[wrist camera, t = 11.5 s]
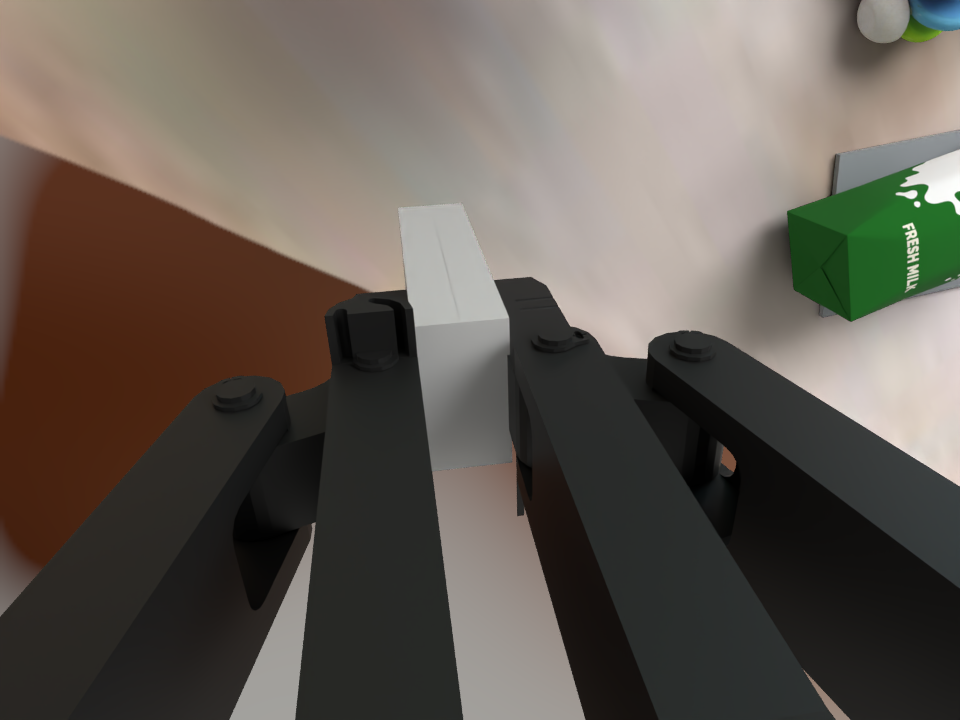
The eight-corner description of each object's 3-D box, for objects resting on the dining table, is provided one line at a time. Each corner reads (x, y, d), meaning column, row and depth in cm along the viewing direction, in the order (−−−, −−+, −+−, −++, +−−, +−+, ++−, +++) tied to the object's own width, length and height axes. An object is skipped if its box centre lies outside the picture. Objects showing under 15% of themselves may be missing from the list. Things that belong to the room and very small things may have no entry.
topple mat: (819, 315, 61) (822, 317, 61) (836, 153, 55) (840, 155, 54) (1019, 270, 64) (1024, 271, 63) (1058, 110, 57) (1064, 110, 57)
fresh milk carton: (854, 226, 47) (1121, 128, 48) (777, 197, 55) (1007, 113, 56) (859, 338, 51) (1104, 245, 52) (786, 295, 59) (1000, 216, 60)
